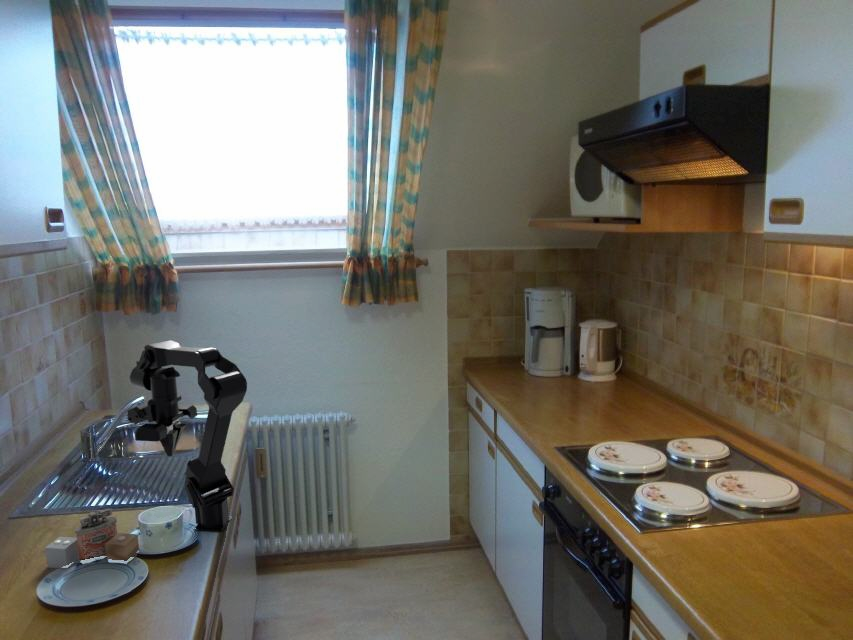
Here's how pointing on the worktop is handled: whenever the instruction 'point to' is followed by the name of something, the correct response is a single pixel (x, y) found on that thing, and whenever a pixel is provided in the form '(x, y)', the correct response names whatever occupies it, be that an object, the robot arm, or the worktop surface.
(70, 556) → the grey block
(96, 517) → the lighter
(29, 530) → the worktop surface
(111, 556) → the walnut block
